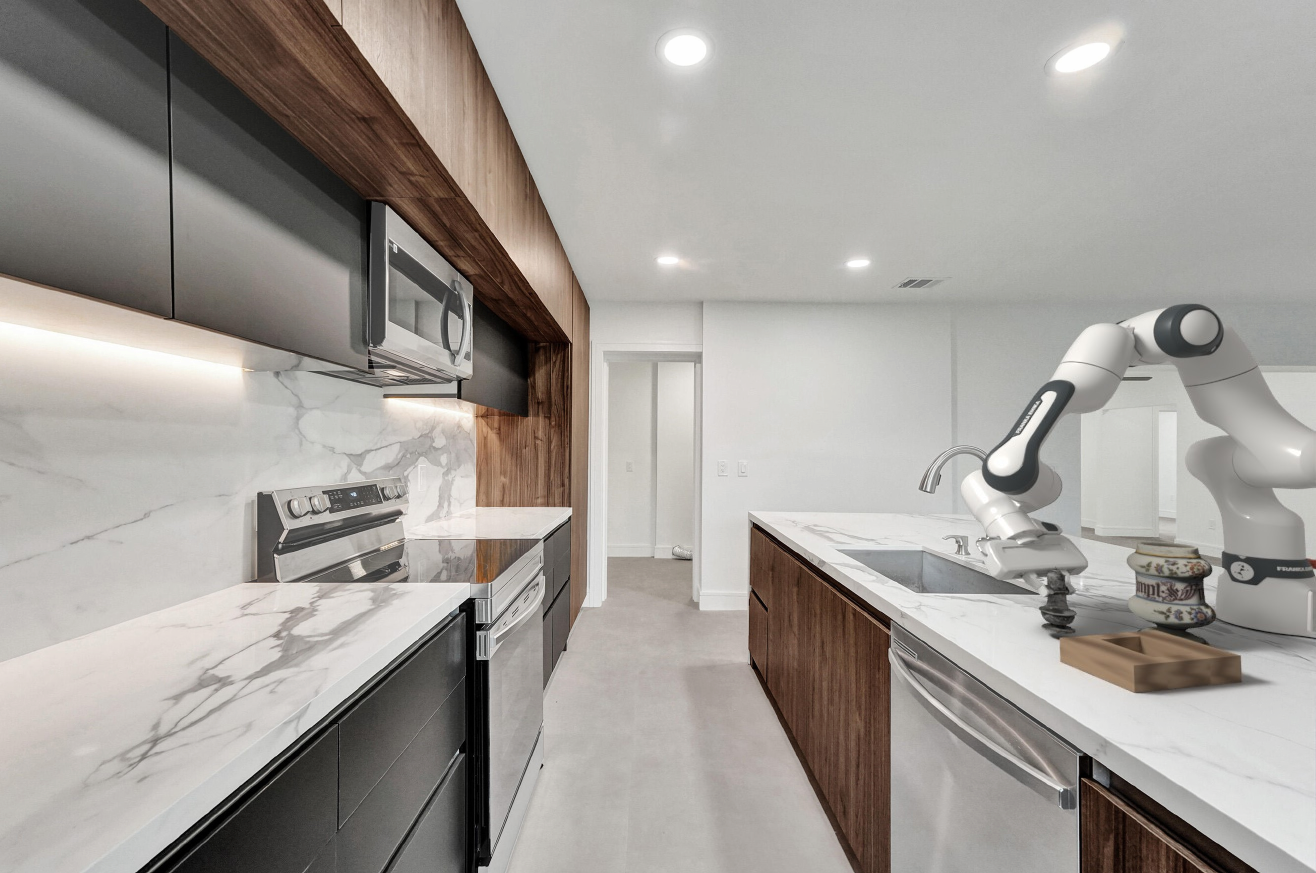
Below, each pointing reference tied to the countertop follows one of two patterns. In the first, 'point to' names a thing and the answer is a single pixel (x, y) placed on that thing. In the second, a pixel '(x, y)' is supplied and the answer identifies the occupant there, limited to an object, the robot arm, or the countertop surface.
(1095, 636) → the wooden tray
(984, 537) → the robot arm
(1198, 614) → the apothecary jar
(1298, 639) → the countertop surface
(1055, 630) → the salt shaker
